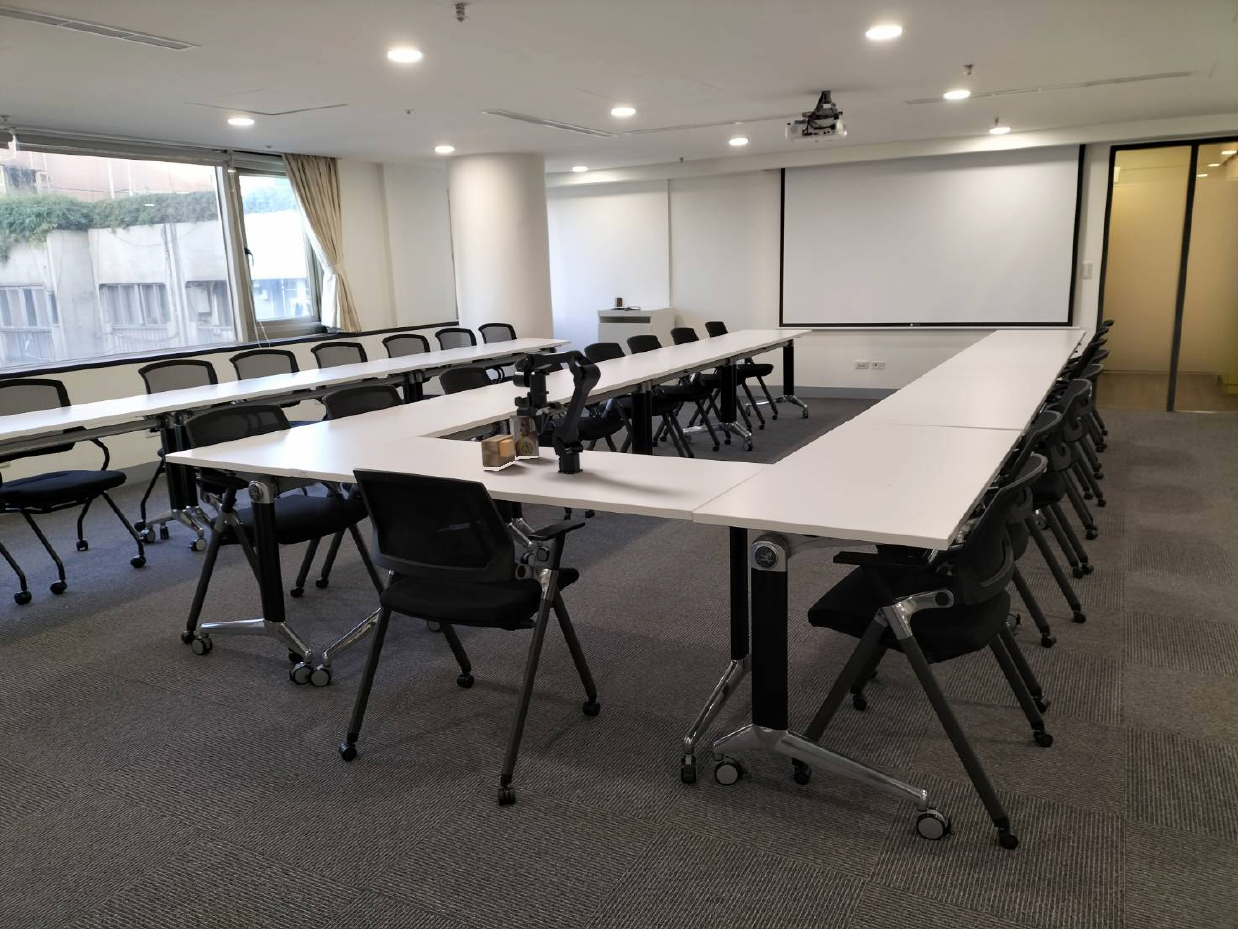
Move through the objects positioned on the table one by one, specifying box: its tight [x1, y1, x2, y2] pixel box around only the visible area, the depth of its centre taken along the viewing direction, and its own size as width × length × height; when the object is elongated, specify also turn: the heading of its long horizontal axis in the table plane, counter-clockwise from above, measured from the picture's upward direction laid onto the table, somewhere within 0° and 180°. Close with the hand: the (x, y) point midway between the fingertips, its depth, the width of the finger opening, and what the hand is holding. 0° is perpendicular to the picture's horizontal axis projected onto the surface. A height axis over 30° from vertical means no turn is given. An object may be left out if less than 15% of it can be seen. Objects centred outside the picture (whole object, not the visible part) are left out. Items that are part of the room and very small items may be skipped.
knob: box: [499, 440, 514, 457], centre depth 305 cm, size 7×5×5 cm
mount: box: [480, 434, 516, 467], centre depth 309 cm, size 7×13×10 cm, turn 160°
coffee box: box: [509, 414, 540, 457], centre depth 324 cm, size 9×6×16 cm
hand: (540, 433), depth 305 cm, fingers closed
